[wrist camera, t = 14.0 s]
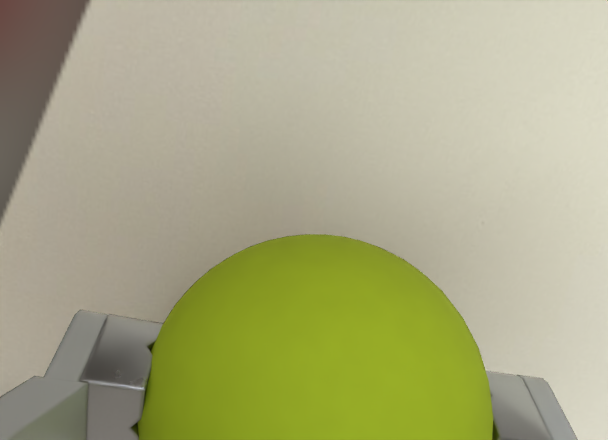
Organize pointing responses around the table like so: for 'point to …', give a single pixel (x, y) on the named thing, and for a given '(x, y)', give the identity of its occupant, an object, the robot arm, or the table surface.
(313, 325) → the ball
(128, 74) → the table surface
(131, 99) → the table surface
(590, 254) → the table surface
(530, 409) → the robot arm
